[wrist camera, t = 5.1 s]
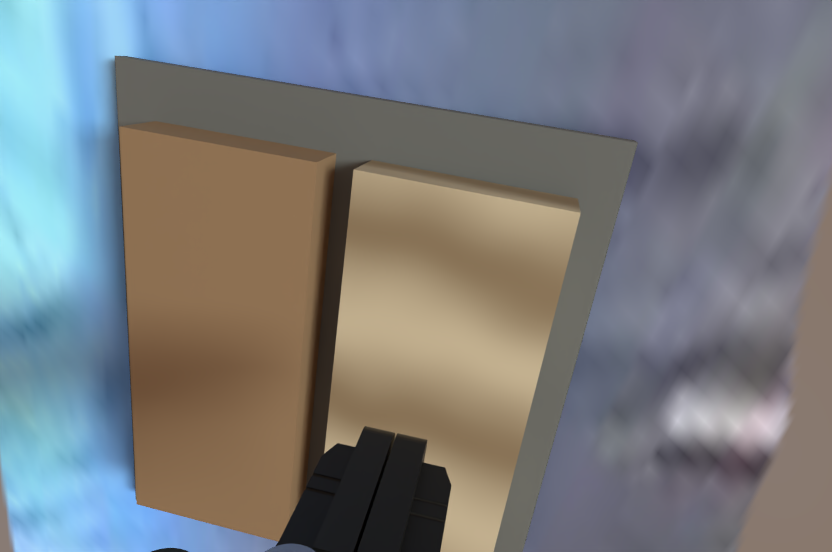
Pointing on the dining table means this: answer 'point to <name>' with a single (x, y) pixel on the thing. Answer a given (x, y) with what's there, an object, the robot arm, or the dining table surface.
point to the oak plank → (448, 326)
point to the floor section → (299, 273)
